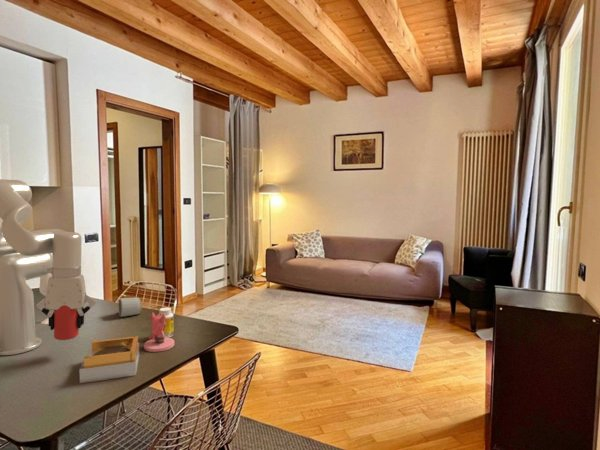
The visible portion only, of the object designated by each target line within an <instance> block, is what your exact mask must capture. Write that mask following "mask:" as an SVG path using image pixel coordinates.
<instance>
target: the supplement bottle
mask: <svg viewBox="0 0 600 450" xmlns="http://www.w3.org/2000/svg"><path fill="white" fill-rule="evenodd" d="M163 313H164V315H165V317H166V318H165V322H166V323H165V329H164V331H163V328H162V331H163V332H164V336H166V337H168V338H172V337H173V336H174V332H175V331H174V330H175V328H174V313H173V312H172V308H171V307H161V308H160V309H159V313H158V314H157V315H156V316H159V314H162V315H163ZM162 315H161V316H162Z"/></svg>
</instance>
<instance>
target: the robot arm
mask: <svg viewBox="0 0 600 450" xmlns="http://www.w3.org/2000/svg"><path fill="white" fill-rule="evenodd" d="M32 192H33V191H32V189H31V187H30V185H28V184H27V183H26V182H25V181H24V180H23V181H22V180H19V179H5V178H4V179H3V178H2V179H1V178H0V219H1V220H2V221H1V227H0V356H12V355H19V354H22V353H26V352H29V351H32V350H34V349H35V350H36V349H37V348H38V347H40V346H41V345H42V338H41V337H38V336H37V335H36V334H37V333H36V318H35V315H36V314H35V307H36V308H37V309H39V311H41V313H43V314H44V315H45V316H46V318H49V324H48V327H50V331H54V310H58V309H59V308H60V307H61V306H63V305H66V306H69V307H70V309H77V311H78V313H79V315H78V318H77V328H79V329H81V328H82V325H84V324H85V314H86V313H88V312H89V311H90V310H91V308H93V307H94V306H95V305H96V300H94V299H93V298H91V296H89V295H87V292H86V291H87V290H86V282H85V281H86V280H85V277H84V275H83V274H82V236H81V234H80V233H79V232H75V231H66V230H63V229H60V228H48V229H47V228H46V229H37V230H28V229H26V228H25V227H23V226H22V225H21V224H23V223H24V222H26V221H28V220H29V219H30V217H31V216H32V213H33V207H32V205H31V204H30V203H29V202H30V201H31V199H32V196H33V193H32ZM51 254H52V255H51ZM49 273H51V274H52V276H51V277H49V280H48V285H47V293H46V296H45V297H44V298H43V299H41V301H39V302H38V303H37V304H36V306H35V300H34V299H35V298H34V291H33V289H32V288H31V286H29V285H28V284H27V283H26V281H28V280H33V279H37V278H40V277H41V276H45V275H47V274H49ZM64 303H65V304H64ZM86 303H88V304H87V306H85V304H86ZM84 306H85V307H84Z"/></svg>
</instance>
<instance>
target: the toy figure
mask: <svg viewBox="0 0 600 450" xmlns="http://www.w3.org/2000/svg"><path fill="white" fill-rule="evenodd" d="M158 314H159V313H158ZM161 315H162V314H159V316H157V315H156V314H155V313H154V311H153V310H152V311H151V314H150V321H151V326H152V327H151V333H152V335H149V336H148V338H149V340H147V341H146V342H144V344H143V349H144V350H145V351H146V352H150V353H151V352H152V353H157V352H158V353H159V352H164V351H168V350H171V349H172V348H173V347H174V346H175V340H174V339H173V338H172V337H170V338H168V337H166V336H164V332H163V331H164V329H165V323H166V322H165V318H166V317H165V315H164V313H163V315H162V316H161ZM162 328H163V331H162Z"/></svg>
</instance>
